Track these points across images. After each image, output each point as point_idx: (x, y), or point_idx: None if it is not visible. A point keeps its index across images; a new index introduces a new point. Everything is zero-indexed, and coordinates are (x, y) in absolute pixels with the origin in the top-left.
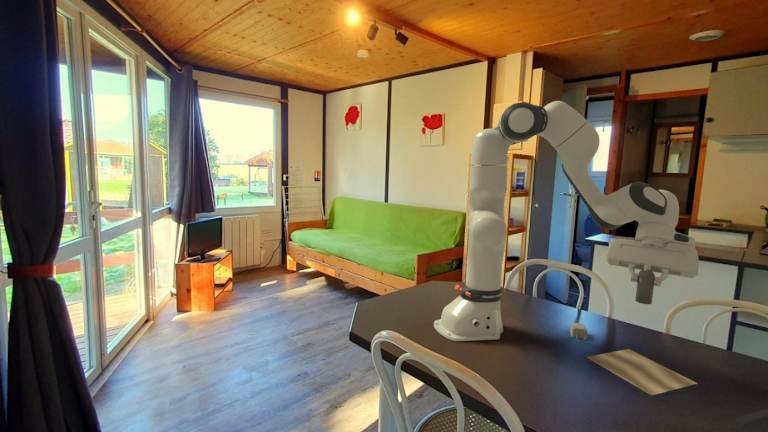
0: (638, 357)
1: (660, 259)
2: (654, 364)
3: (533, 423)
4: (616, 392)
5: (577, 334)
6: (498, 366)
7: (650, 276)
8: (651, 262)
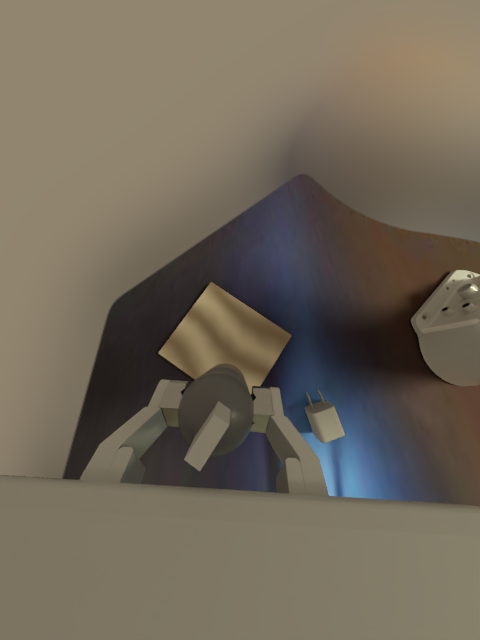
0: None
1: (83, 598)
2: None
3: (302, 174)
4: (245, 275)
5: (322, 405)
6: (373, 247)
7: (198, 380)
8: (179, 515)
